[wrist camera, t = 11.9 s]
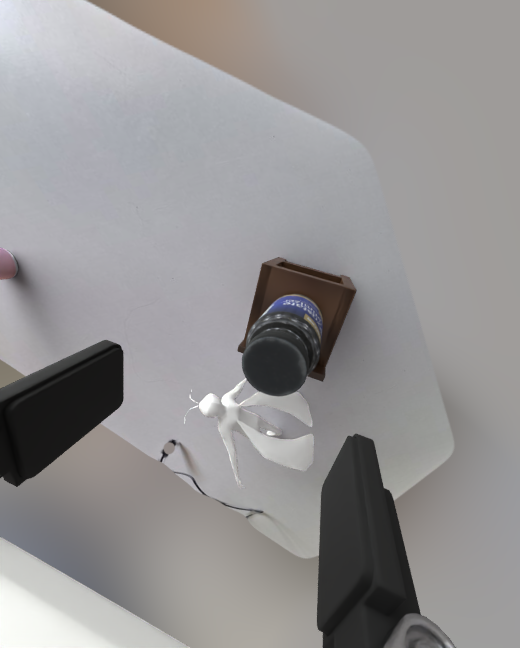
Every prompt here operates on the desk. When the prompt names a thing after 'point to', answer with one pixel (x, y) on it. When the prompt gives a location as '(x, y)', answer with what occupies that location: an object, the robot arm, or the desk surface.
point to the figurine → (249, 424)
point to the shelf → (314, 284)
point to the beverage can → (7, 265)
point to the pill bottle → (283, 345)
